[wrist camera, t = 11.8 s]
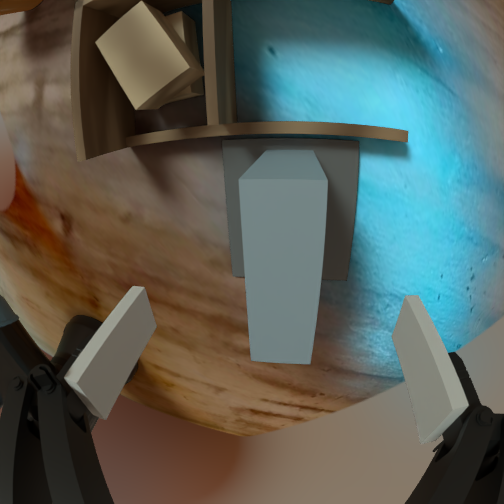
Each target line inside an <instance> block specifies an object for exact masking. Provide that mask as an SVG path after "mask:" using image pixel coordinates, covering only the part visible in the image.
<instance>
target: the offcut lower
mask: <svg viewBox="0 0 504 504" xmlns="http://www.w3.org/2000/svg"><path fill="white" fill-rule="evenodd" d="M165 17H166V18H167V20H168V21H169V22H170V24H171V25H172V26H173V28H174V29H175V30H176V32H177V33H178V35H179V36H180V37H181V39H182V40H183V41H184V43H185V44H186V46H187V47H188V48H189V50H190V51H191V53H192V54H193V55H194V57H195V58H196V60H197V61H198V63H199V64H200V58H199V50H198V42H197V33H196V25H195V21H194V20H193V19H191V18H190V17H189V16H187V15H186V14H185V13H184V12H182V11H180V12H177V13H174V14H171V15H168V16H165ZM201 95H204V89H203V81H202V77H201V78H199V79H198V80H196V81H195V82H194V83H192V84H191V85H189V86H188V87H186V88H185V89H184V90H182V91H181V92H180V93H178V94H177V95H175V96H174V97H173V98H171V99H170V100H169V101H168V102H166V103H165V104H167V103H171V102H175V101H179V100H183V99H188V98H192V97H197V96H201Z"/></svg>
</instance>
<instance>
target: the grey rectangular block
mask: <svg viewBox="0 0 504 504" xmlns="http://www.w3.org/2000/svg"><path fill="white" fill-rule="evenodd" d="M327 190H328V180H327V178H326V176H325V173H324V171H323V169H322V167H321V165H320V163H319V161H318V159H317V157H316V155H315V153H314V151H313V150H266V151H265V152H264V153H263V154H262V155H261V156H260V157H259V158H258V159H257V160H256V161H255V163H254V164H253V165H252V166H251V167H250V168H249V169H248V170H247V171H246V172H245V173H244V174H243V175H242V176H241V177H240V178H239V195H240V211H241V226H242V242H243V256H244V271H245V285H246V299H247V313H248V327H249V340H250V353H251V361H260V362H274V363H291V364H310V362H311V356H312V349H313V342H314V335H315V328H316V321H317V313H318V305H319V296H320V287H321V277H322V267H323V255H324V243H325V229H326V212H327Z"/></svg>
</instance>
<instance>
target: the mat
mask: <svg viewBox="0 0 504 504" xmlns="http://www.w3.org/2000/svg"><path fill="white" fill-rule="evenodd" d="M266 150H313V151H314V153H315V155H316V157H317V159H318V161H319V163H320V165H321V167H322V169H323V171H324V173H325V176H326V178H327V180H328V190H327V212H326V229H325V243H324V255H323V267H322V277H321V280H344V281H347V276H348V269H349V262H350V255H351V247H352V239H353V230H354V220H355V209H356V197H357V183H358V164H359V141H351V140H337V139H316V138H250V139H229V140H222V151H223V165H224V179H225V192H226V204H227V216H228V228H229V240H230V251H231V262H232V272H233V276H237V277H245V271H244V256H243V242H242V226H241V211H240V195H239V178H240V177H241V176H242V175H243V174H244V173H245V172H246V171H247V170H248V169H249V168H250V167H251V166H252V165H253V164H254V163H255V161H256V160H257V159H258V158H259V157H260V156H261V155H262V154H263V153H264V152H265V151H266Z"/></svg>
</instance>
